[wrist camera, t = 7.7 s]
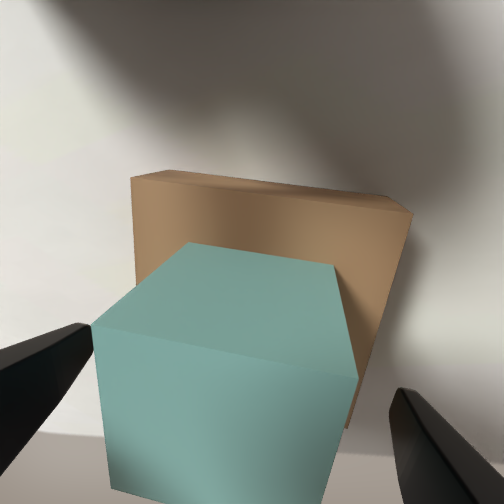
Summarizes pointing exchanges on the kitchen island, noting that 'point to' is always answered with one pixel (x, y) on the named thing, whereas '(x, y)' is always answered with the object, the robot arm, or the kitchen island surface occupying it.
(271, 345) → the teal cube
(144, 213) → the walnut plinth
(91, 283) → the kitchen island surface
